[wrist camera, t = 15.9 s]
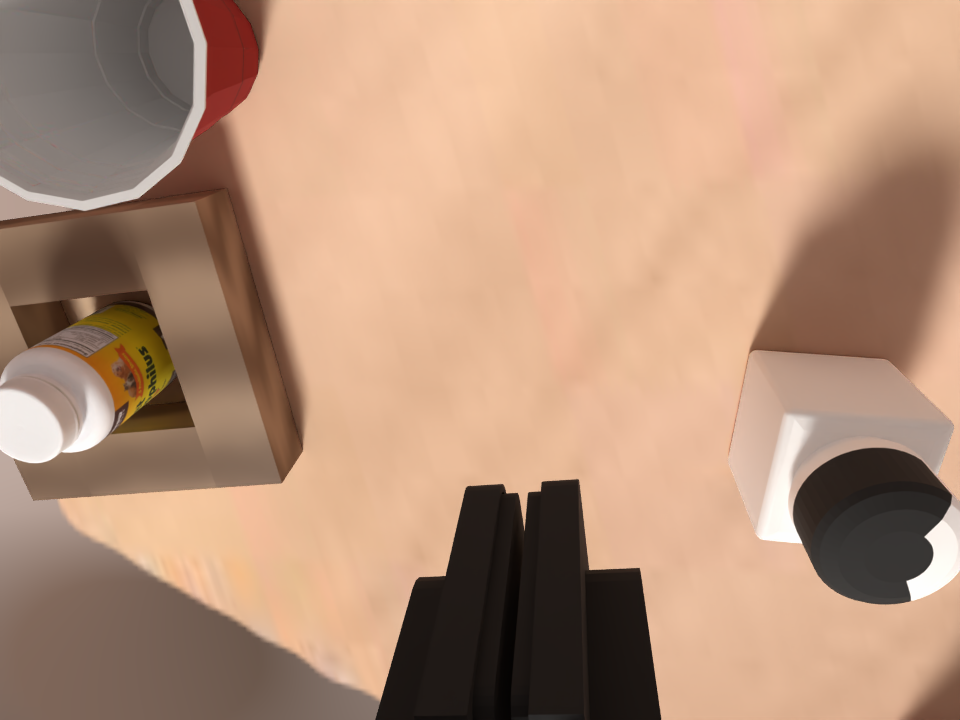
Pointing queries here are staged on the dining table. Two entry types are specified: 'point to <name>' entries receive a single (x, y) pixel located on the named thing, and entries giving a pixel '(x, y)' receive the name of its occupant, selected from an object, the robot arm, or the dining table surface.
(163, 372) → the supplement bottle
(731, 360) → the dining table surface
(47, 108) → the plastic cup
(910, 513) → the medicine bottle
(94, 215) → the square bottle holder
